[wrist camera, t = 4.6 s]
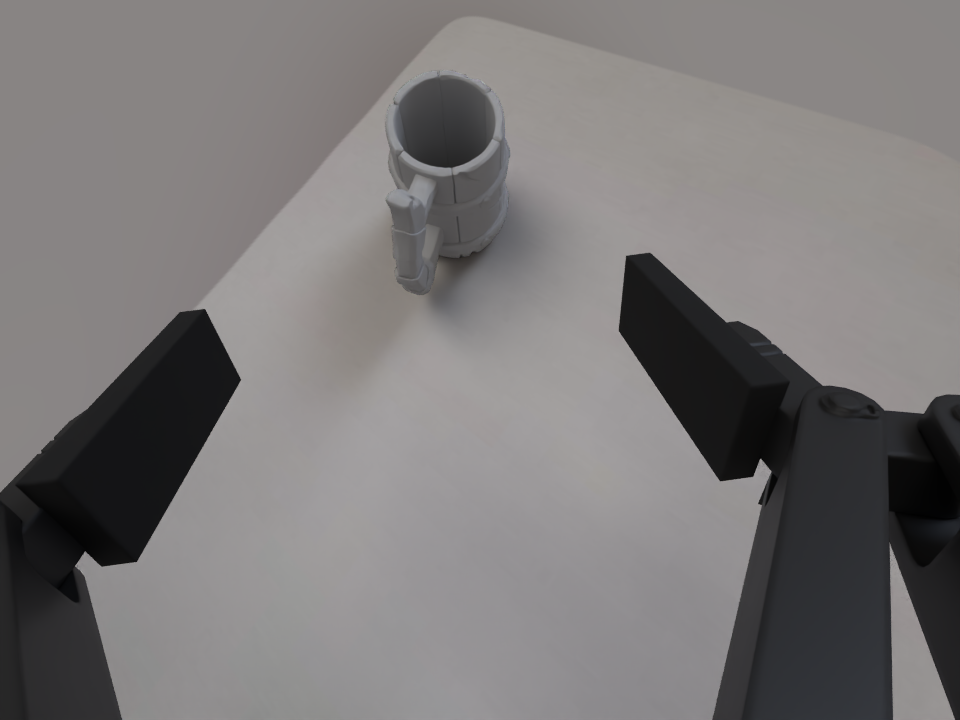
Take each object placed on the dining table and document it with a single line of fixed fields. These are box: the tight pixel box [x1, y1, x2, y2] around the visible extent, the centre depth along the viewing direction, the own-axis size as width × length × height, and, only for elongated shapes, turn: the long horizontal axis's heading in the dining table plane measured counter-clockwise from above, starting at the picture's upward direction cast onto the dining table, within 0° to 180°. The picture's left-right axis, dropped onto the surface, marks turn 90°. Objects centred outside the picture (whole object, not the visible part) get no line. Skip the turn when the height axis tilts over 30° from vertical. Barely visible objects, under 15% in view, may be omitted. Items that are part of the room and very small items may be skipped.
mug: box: [385, 70, 510, 295], centre depth 27 cm, size 8×12×12 cm, turn 161°
